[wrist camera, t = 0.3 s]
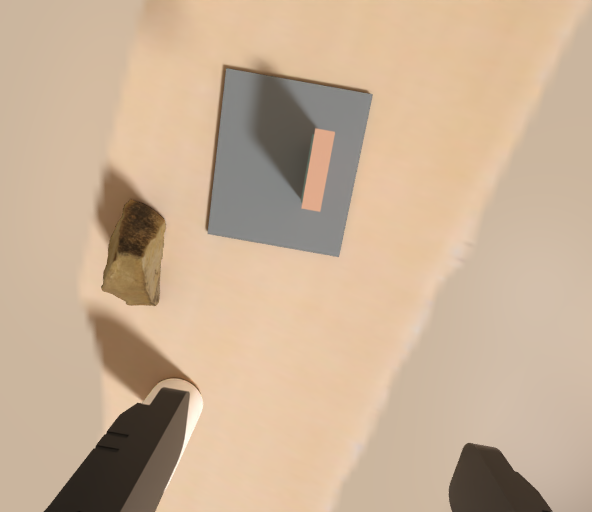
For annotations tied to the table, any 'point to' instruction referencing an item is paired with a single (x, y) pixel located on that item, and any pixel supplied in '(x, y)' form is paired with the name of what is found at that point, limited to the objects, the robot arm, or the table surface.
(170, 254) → the table surface
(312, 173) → the tile
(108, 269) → the rock
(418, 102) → the table surface
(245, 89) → the mat
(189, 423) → the can
